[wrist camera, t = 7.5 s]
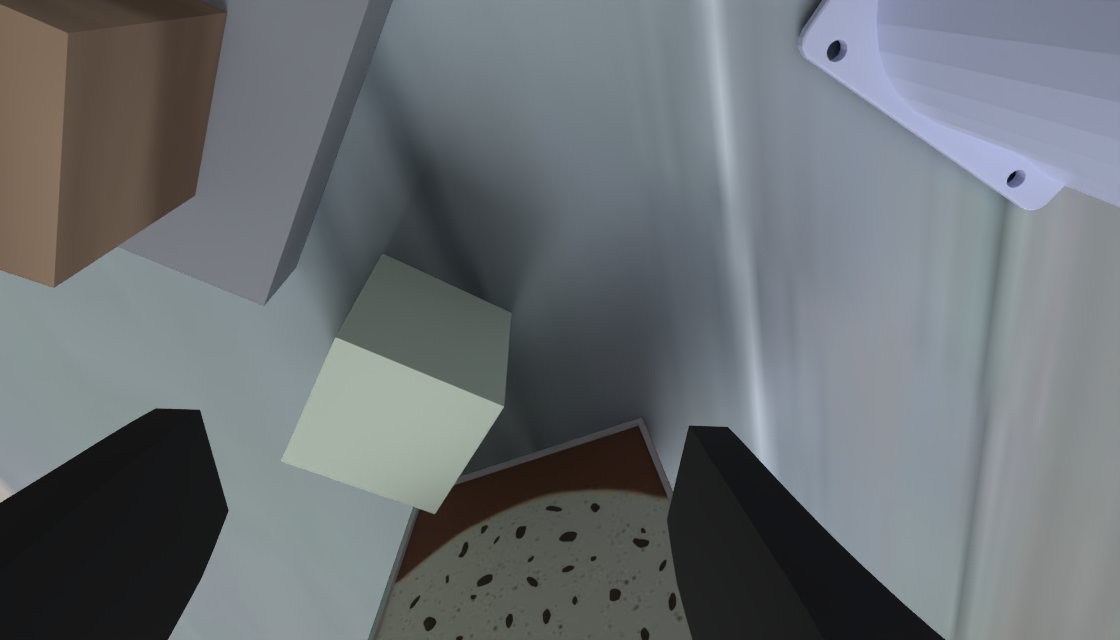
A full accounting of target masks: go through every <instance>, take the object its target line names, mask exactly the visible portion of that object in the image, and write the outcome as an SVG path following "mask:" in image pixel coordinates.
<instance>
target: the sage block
mask: <svg viewBox="0 0 1120 640" xmlns="http://www.w3.org/2000/svg"><path fill="white" fill-rule="evenodd" d="M510 325H511V312H508V311H506V310H504V309H502V308H500V307H498V306H495V305H493V304H491V303H489V302H487V301H485V300H482V299H480V298H478V297H476V296H474V295H472V294H469V293H467V292H465V291H463V290H461V289H459V288H456V287H454V286H452V285H450V284H448V283H446V282H443V281H441V280H439V279H437V278H435V277H433V276H431V275H428V274H426V273H424V272H422V271H420V270H418V269H415V268H413V267H411V266H409V265H407V264H405V263H402V262H400V261H398V260H396V259H394V258H392V257H389V256H387V255H385V254H383V253H382V255H381V257H380V259H379V260H378V262H377V264H376V266H375V267H374V269H373V271H372V273H371V275H370V276H369V278H368V280H367V282H366V283H365V285H364V287H363V289H362V291H361V292H360V294H359V296H358V298H357V300H356V301H355V303H354V305H353V307H352V308H351V310H350V312H349V314H348V316H347V317H346V319H345V321H344V323H343V325H342V326H341V328H340V330H339V332H338V333H337V335H336V337H335V339H334V342H333V344H332V346H331V348H330V351H329V353H328V355H327V358H326V360H325V362H324V364H323V367H322V369H321V371H320V374H319V376H318V378H317V380H316V383H315V385H314V387H313V389H312V392H311V394H310V396H309V399H308V401H307V403H306V405H305V408H304V410H303V412H302V415H301V417H300V419H299V421H298V424H297V426H296V428H295V430H294V433H293V435H292V437H291V440H290V442H289V444H288V446H287V449H286V451H285V453H284V456H283V458H282V460H281V461H282V462H285V463H288V464H291V465H293V466H296V467H299V468H302V469H305V470H308V471H311V472H314V473H317V474H320V475H323V476H325V477H328V478H331V479H334V480H337V481H340V482H343V483H346V484H349V485H352V486H354V487H357V488H360V489H363V490H366V491H369V492H372V493H375V494H378V495H381V496H383V497H386V498H389V499H392V500H395V501H398V502H401V503H404V504H407V505H410V506H413V507H415V508H418V509H421V510H424V511H427V512H430V513H433V514H435V513H436V512H437V510H438V509H439V507H440V506H441V504H442V502H443V501H444V499H445V498H446V496H447V495H448V493H449V492H450V490H451V488H452V487H453V485H454V484H455V482H456V481H457V479H458V478H459V476H460V475H461V473H462V471H463V470H464V468H465V467H466V465H467V464H468V462H469V461H470V459H471V457H472V456H473V454H474V453H475V451H476V450H477V448H478V447H479V445H480V443H481V442H482V440H483V439H484V437H485V436H486V434H487V433H488V431H489V429H490V428H491V426H492V425H493V423H494V422H495V420H496V419H497V417H498V416H499V414H500V412H501V411H502V409H503V408H504V403H505V390H506V377H507V364H508V351H509V338H510Z"/></svg>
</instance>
